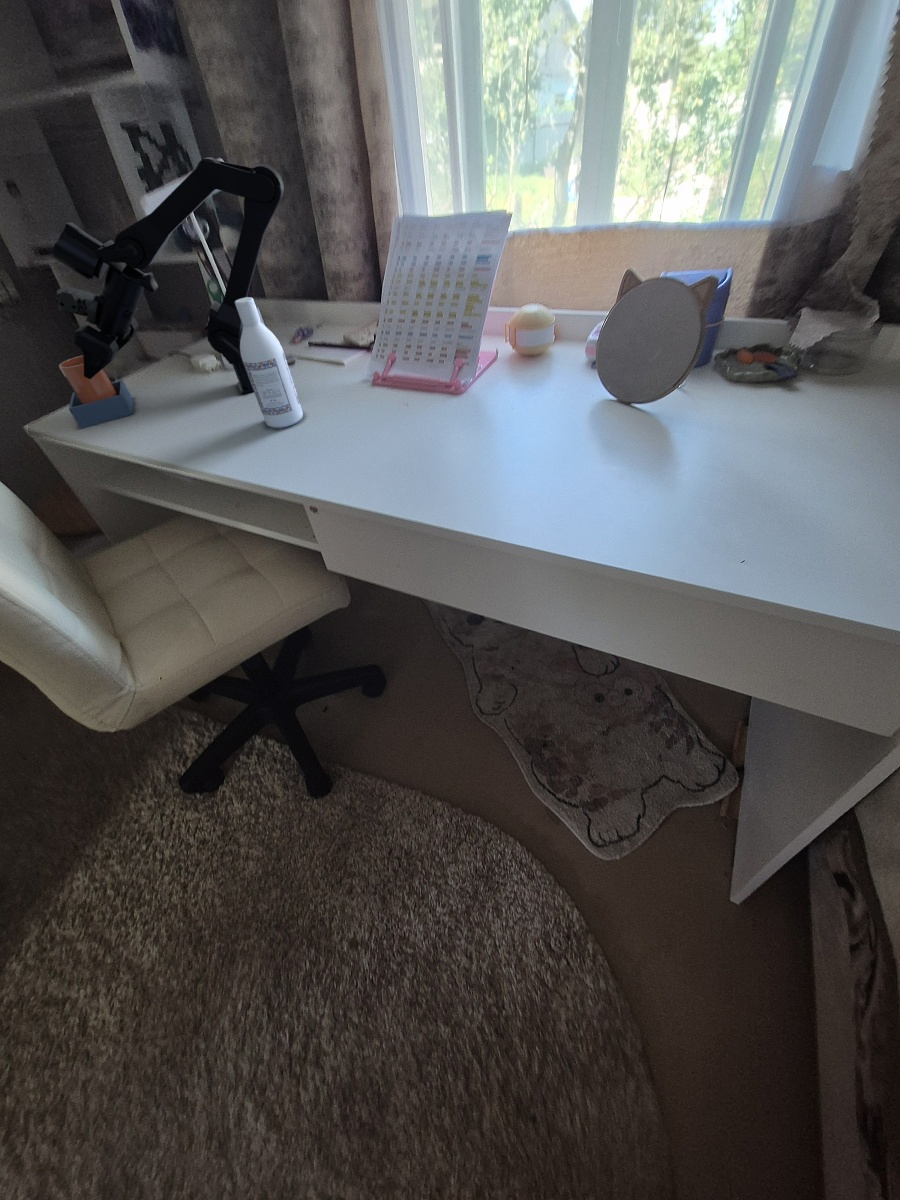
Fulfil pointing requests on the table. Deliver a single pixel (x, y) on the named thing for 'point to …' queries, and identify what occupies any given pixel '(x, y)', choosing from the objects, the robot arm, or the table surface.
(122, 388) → the tub
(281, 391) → the bath foam
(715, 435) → the table surface
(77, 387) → the cup
